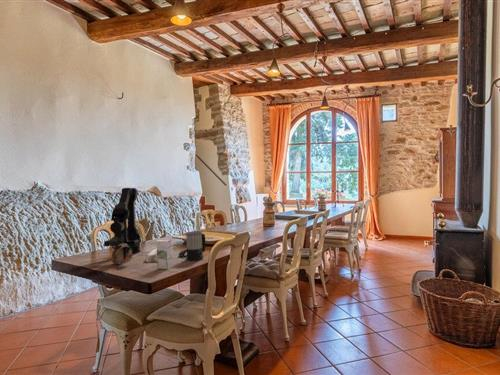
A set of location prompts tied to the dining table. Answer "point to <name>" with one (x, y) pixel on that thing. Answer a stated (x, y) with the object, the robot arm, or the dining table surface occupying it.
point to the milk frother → (194, 246)
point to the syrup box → (164, 253)
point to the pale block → (153, 255)
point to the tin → (121, 256)
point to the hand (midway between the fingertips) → (122, 258)
